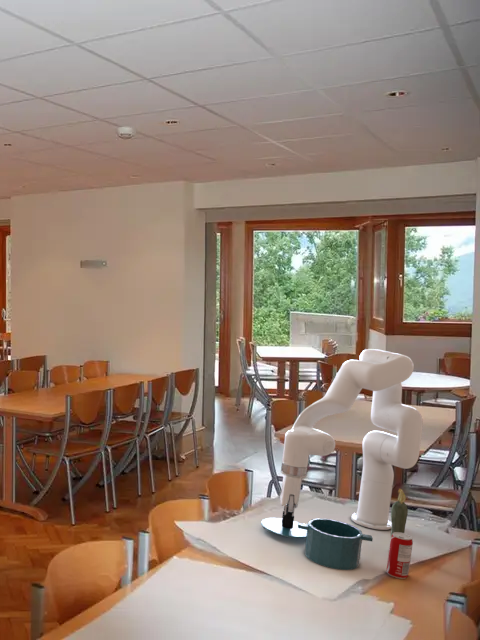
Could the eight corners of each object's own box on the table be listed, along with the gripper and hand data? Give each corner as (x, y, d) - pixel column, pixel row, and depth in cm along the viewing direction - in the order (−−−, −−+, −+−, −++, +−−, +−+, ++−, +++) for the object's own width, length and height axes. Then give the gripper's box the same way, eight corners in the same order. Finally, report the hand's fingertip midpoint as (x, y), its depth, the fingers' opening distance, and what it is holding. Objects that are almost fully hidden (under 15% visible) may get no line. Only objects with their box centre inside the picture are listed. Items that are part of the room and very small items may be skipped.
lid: (260, 517, 247) (262, 498, 246) (311, 526, 242) (313, 507, 241) (260, 533, 232) (263, 513, 232) (314, 544, 227) (317, 523, 227)
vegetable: (403, 556, 226) (412, 493, 224) (388, 554, 227) (396, 491, 224) (399, 550, 230) (407, 488, 228) (384, 548, 231) (392, 486, 229)
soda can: (390, 569, 216) (395, 529, 215) (410, 576, 212) (416, 535, 211) (383, 574, 212) (388, 533, 211) (404, 581, 208) (409, 540, 207)
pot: (294, 543, 230) (297, 513, 229) (365, 556, 224) (368, 526, 223) (296, 561, 217) (300, 530, 216) (372, 576, 210) (376, 543, 209)
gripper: (280, 461, 244) (274, 515, 246) (282, 474, 229) (275, 532, 231) (305, 465, 241) (298, 519, 243) (308, 478, 226) (301, 537, 228)
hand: (287, 525), depth 237 cm, fingers closed on lid, 2 cm apart
